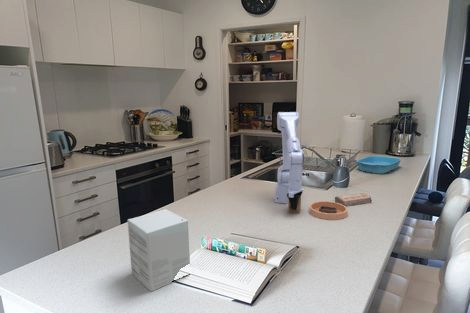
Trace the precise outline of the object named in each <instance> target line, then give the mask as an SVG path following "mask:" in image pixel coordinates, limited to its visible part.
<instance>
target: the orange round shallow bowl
mask: <svg viewBox="0 0 470 313" xmlns="http://www.w3.org/2000/svg"><path fill="white" fill-rule="evenodd" d="M320 206H327V207H335V208H337V213H322V212H319V208H320ZM348 210H349V208H348V206H344V205H342V204H340V203H336V202H331V201H327V200H326V201H323V200H320V201H315V202H311V203H310V204H309V207H308V212H309V214H310V215H311V216H312V217H314V218H317V219H321V220H326V221H327V220H329V221H339V220H344V219H345V218H347V216H348V215H349V214H348Z"/></svg>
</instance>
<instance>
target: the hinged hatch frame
mask: <svg viewBox="0 0 470 313" xmlns="http://www.w3.org/2000/svg"><path fill="white" fill-rule="evenodd" d="M319 212H322V213H337V208H335V207H327V206H320V208H319Z"/></svg>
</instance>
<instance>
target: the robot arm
mask: <svg viewBox="0 0 470 313" xmlns="http://www.w3.org/2000/svg"><path fill="white" fill-rule="evenodd" d="M299 123H300V113H299V112H298V111H289V112H288V111H286V112H285V111H278V112H277V116H276V126H277V130H278V131H280V132H281V135H282V136H281V139H282V140H281V144H282V164H281V165H280V166H279V167H278V169H277V176H276V179H277V183H276V184H275V189H274V198H275V199H274V203H280V204H288V203H289V201H290V206H291V209H293V210H296V208H297V203H298V199H299V197H301V198H302V194H303V192H305V188H303V185H302V184H303V166H304V165H305V164H304V163H305V153H304V151H303V149H301V142H300V139H299V138H298V137H297V128H298V125H299Z"/></svg>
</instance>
